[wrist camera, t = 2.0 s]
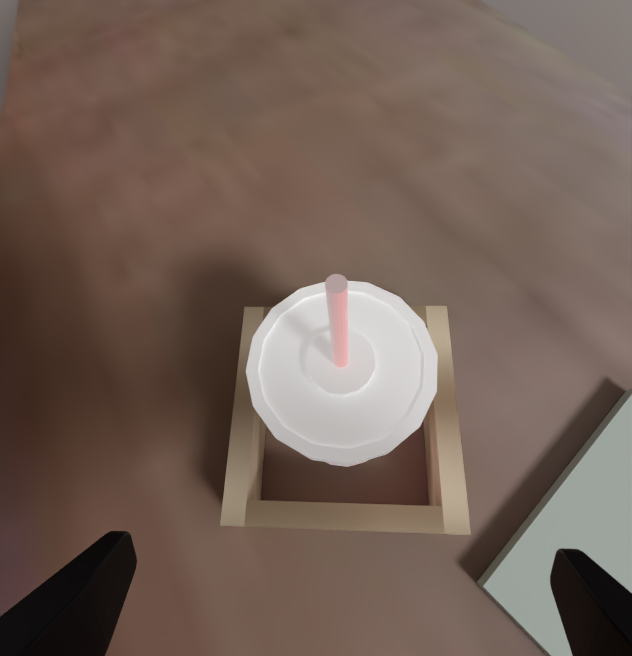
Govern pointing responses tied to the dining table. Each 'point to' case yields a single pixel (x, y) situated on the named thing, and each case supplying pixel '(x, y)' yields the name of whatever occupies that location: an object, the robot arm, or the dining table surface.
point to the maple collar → (437, 518)
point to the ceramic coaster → (570, 531)
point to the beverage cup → (342, 371)
